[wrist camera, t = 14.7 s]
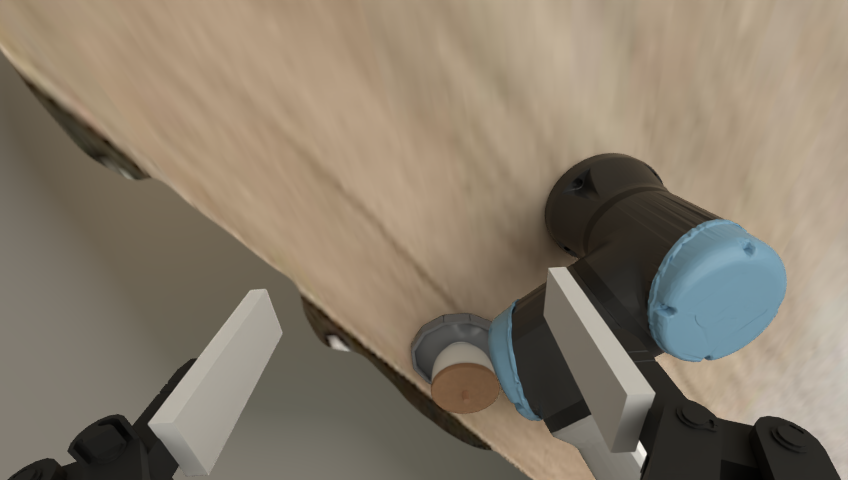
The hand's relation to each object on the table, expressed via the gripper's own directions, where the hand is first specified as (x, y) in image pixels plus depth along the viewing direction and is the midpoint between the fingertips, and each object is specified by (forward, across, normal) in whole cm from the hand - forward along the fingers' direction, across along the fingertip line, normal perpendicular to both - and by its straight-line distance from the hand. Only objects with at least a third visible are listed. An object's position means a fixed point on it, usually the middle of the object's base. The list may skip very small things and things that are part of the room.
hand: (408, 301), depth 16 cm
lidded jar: (+31, -4, +36) cm, 47 cm away
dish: (+32, -4, +36) cm, 48 cm away
